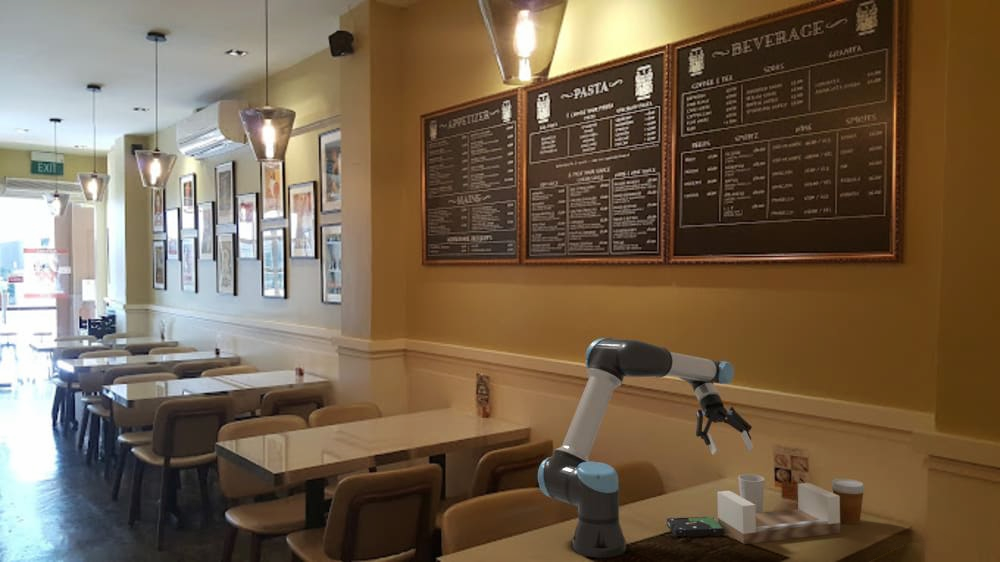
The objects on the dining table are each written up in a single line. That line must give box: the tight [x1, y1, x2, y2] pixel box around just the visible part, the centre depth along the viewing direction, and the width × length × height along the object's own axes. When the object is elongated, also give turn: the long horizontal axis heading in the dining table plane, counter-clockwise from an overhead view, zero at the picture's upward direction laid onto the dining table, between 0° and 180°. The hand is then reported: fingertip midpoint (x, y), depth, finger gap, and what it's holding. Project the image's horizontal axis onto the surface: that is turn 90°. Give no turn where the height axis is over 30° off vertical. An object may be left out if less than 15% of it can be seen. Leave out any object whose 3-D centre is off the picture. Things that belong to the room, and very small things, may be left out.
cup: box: [738, 473, 766, 514], centre depth 225 cm, size 8×8×12 cm
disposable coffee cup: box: [830, 478, 866, 526], centre depth 217 cm, size 10×10×12 cm
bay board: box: [717, 508, 841, 545], centre depth 211 cm, size 32×14×4 cm, turn 103°
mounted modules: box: [716, 482, 841, 534], centre depth 211 cm, size 32×14×8 cm, turn 103°
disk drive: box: [666, 516, 725, 538], centre depth 213 cm, size 10×3×15 cm
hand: (733, 451), depth 236 cm, fingers open, 13 cm apart
